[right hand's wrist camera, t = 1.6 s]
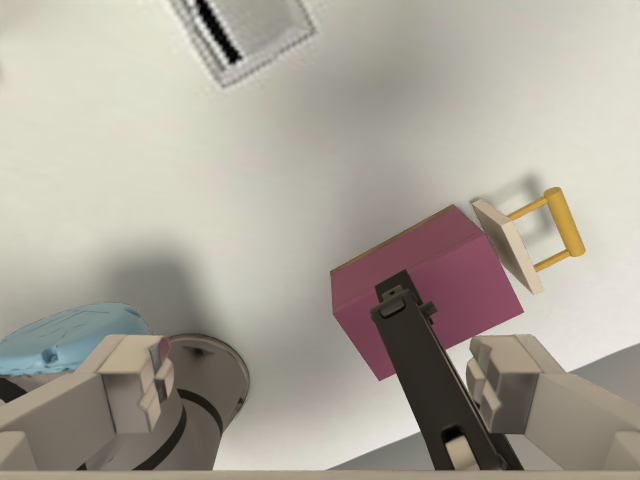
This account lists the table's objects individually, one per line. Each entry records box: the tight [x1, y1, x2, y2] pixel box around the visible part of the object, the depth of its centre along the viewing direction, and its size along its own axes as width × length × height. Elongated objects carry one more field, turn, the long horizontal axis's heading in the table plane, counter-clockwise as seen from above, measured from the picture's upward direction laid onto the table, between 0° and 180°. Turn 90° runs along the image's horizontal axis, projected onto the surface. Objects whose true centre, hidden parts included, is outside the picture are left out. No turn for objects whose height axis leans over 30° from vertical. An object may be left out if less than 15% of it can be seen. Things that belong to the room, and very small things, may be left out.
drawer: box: [472, 187, 585, 295], centre depth 45 cm, size 22×9×8 cm, turn 121°
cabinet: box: [330, 205, 524, 381], centre depth 47 cm, size 17×10×10 cm, turn 121°
